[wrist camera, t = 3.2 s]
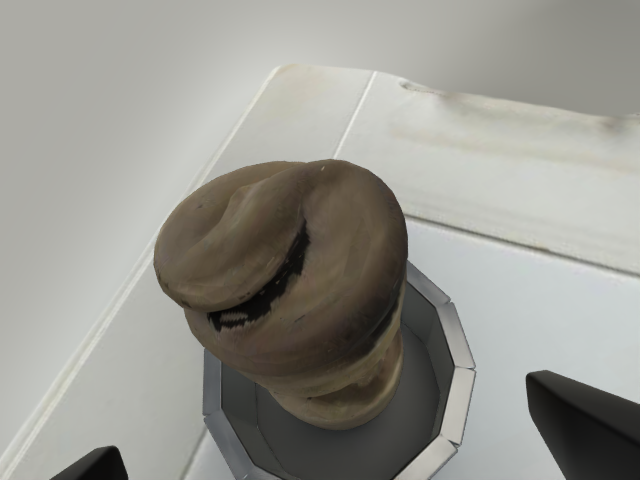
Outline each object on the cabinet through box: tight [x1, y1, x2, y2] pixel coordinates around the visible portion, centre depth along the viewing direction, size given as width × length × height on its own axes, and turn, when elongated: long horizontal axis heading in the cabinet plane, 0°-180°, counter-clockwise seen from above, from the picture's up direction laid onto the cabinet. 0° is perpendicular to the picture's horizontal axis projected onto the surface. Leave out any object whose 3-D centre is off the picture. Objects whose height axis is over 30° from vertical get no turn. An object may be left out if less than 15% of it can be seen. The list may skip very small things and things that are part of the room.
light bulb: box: [154, 159, 408, 430], centre depth 14 cm, size 6×6×15 cm
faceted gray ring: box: [203, 260, 476, 480], centre depth 18 cm, size 11×11×5 cm
